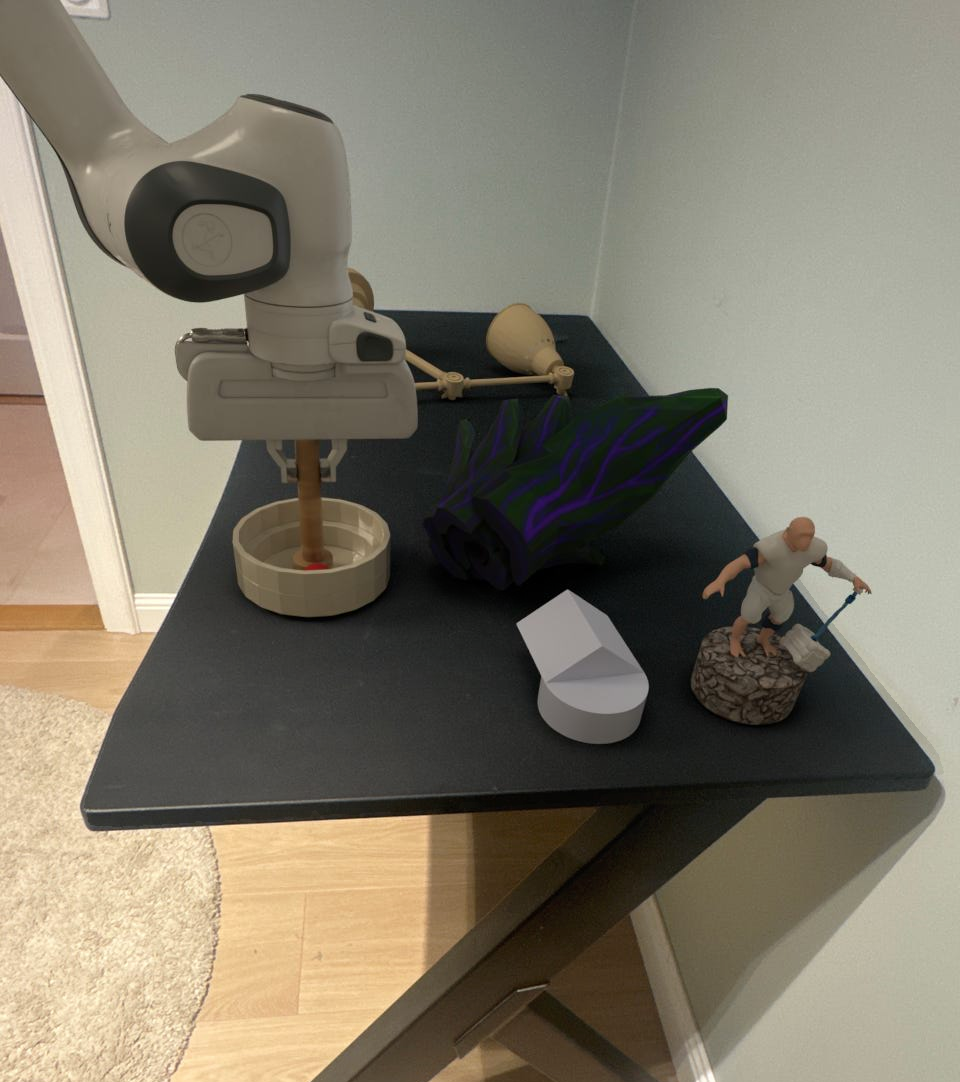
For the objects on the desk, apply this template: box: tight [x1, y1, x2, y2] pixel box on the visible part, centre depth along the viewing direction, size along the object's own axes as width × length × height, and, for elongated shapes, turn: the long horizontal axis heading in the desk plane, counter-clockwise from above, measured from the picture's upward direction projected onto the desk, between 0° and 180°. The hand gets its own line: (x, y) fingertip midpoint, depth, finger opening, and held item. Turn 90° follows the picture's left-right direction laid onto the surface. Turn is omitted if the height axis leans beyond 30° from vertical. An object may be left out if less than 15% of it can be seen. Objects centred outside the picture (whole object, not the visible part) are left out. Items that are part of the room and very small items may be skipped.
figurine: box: [690, 516, 872, 726], centre depth 65 cm, size 15×9×18 cm, turn 99°
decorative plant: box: [422, 387, 729, 591], centre depth 83 cm, size 21×26×30 cm
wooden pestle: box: [293, 440, 333, 570], centre depth 75 cm, size 4×4×16 cm
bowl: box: [232, 496, 392, 618], centre depth 79 cm, size 15×15×6 cm
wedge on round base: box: [516, 589, 650, 745], centre depth 67 cm, size 9×7×13 cm
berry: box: [304, 563, 329, 571], centre depth 76 cm, size 3×3×3 cm
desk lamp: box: [348, 267, 575, 401], centre depth 131 cm, size 15×35×40 cm
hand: (309, 480), depth 74 cm, fingers closed on wooden pestle, 2 cm apart
